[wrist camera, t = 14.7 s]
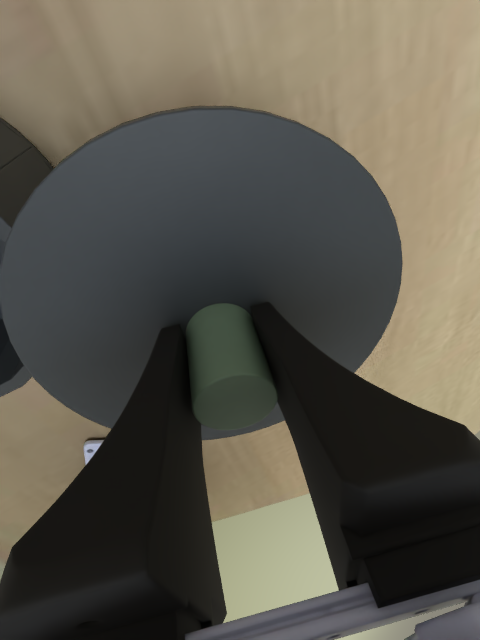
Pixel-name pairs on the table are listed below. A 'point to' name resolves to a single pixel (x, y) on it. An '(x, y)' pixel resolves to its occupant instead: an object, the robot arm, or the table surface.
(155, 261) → the bowl lid
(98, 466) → the robot arm
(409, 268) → the table surface
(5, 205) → the bowl
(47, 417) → the table surface
